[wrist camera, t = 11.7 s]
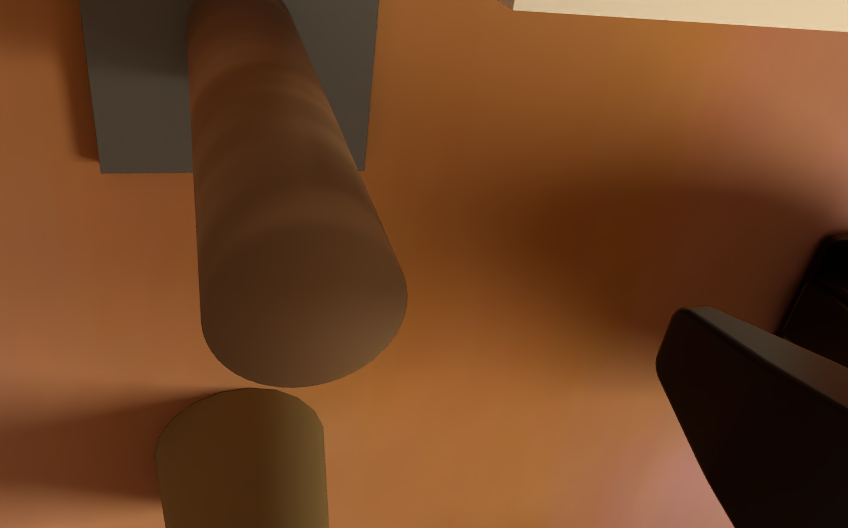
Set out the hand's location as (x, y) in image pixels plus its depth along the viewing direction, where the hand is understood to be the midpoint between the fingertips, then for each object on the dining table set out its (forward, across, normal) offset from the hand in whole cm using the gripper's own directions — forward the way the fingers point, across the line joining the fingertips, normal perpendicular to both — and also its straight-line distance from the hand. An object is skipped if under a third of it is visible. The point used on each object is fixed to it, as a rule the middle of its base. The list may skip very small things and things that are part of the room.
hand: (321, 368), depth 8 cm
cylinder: (+12, 0, 0) cm, 12 cm away
